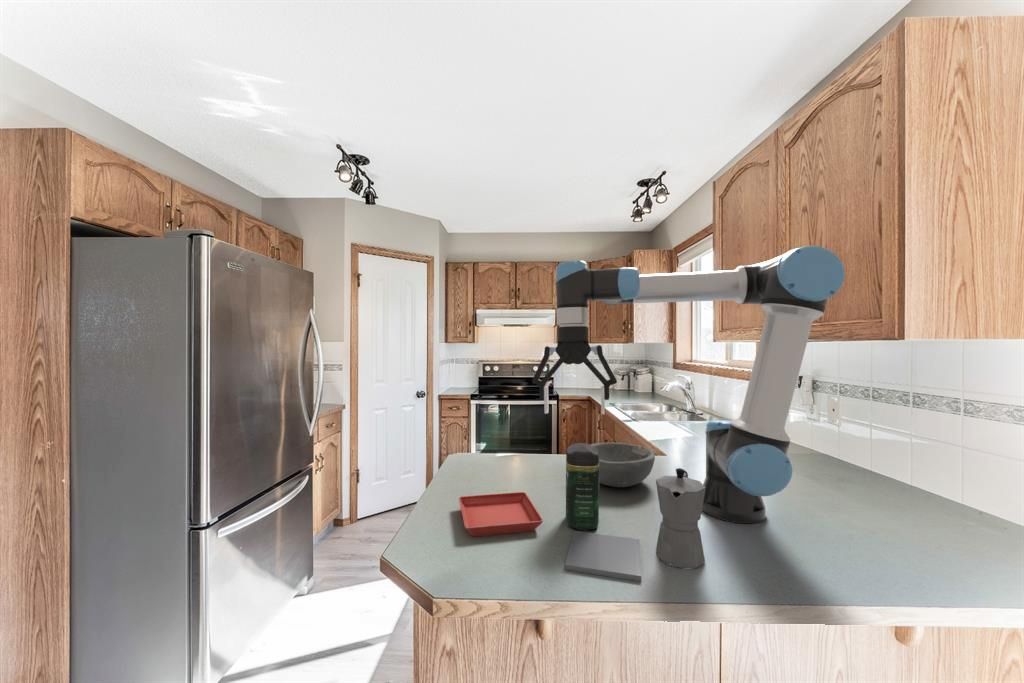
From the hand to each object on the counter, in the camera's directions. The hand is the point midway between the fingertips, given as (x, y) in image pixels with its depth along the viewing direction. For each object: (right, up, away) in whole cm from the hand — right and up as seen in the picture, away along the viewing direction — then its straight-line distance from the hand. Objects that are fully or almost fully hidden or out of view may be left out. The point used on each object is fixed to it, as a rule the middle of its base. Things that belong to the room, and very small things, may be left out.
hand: (574, 413), depth 99 cm
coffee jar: (+2, -26, -1) cm, 26 cm away
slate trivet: (+4, -26, -16) cm, 31 cm away
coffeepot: (+19, -27, -15) cm, 36 cm away
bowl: (+17, -26, +26) cm, 40 cm away
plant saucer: (-19, -27, +1) cm, 33 cm away
